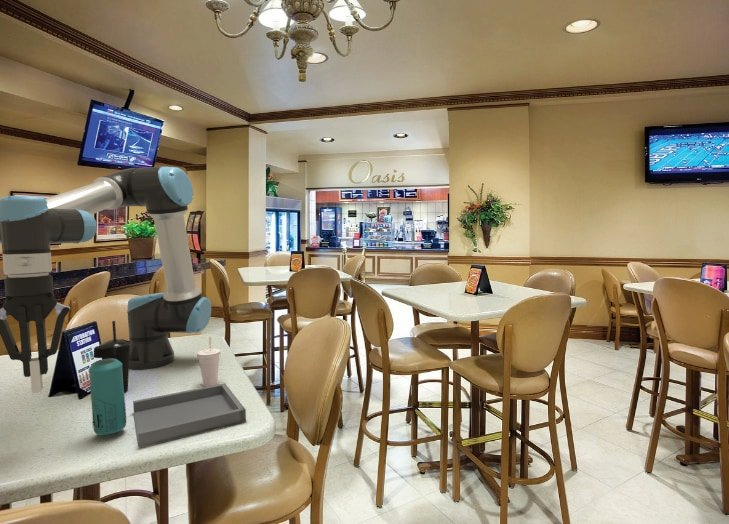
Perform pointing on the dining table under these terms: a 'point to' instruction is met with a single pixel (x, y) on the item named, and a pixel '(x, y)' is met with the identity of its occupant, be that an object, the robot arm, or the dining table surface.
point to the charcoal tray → (186, 414)
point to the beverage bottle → (107, 392)
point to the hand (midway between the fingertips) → (37, 390)
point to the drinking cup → (120, 355)
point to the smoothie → (209, 365)
